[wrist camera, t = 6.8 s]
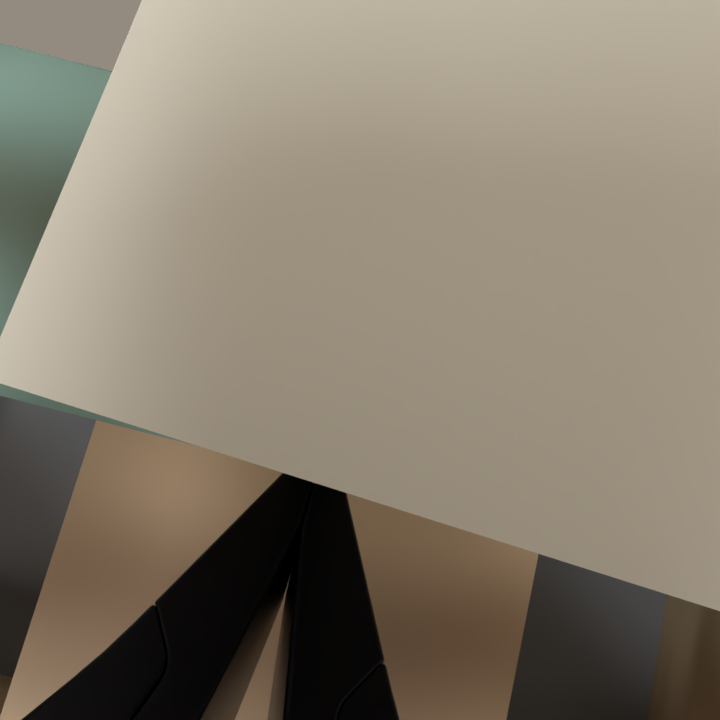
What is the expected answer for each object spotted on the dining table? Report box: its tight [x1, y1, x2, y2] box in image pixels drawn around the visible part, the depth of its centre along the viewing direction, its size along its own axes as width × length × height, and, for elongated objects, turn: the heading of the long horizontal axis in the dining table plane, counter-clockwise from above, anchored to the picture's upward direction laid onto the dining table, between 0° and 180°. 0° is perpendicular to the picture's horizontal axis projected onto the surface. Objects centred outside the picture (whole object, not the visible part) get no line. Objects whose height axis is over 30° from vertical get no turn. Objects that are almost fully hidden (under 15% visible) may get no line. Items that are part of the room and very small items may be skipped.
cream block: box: [0, 0, 720, 611], centre depth 10 cm, size 8×7×8 cm
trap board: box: [0, 43, 720, 720], centre depth 15 cm, size 23×22×4 cm
